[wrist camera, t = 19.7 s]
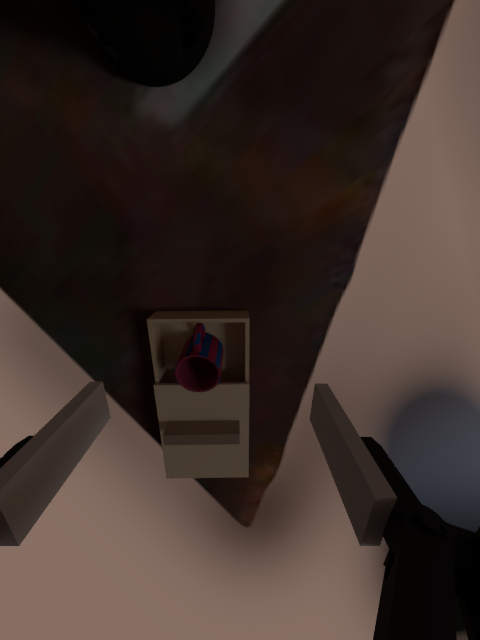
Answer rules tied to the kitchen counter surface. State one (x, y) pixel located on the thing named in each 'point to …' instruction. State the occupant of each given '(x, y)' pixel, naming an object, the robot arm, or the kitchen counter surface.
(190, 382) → the mug
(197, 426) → the lid
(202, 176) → the kitchen counter surface
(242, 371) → the beige open box
